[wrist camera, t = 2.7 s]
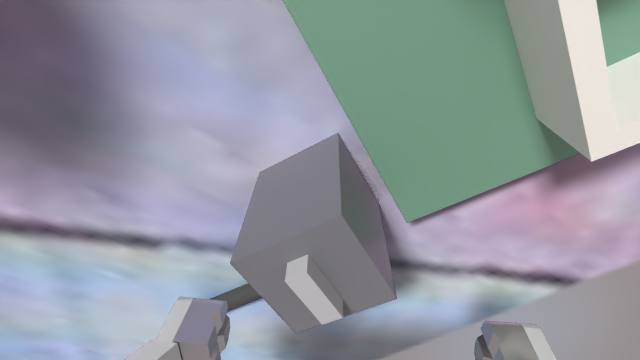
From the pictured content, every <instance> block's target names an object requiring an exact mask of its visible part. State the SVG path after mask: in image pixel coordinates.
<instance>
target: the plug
mask: <svg viewBox="0 0 640 360" xmlns="http://www.w3.org/2000/svg"><path fill="white" fill-rule="evenodd" d="M230 264H231V265H232V266H233V267H234V268H235V269H236V270H237V271H238V272H239V273H240V274H241V276H242V277H243V278H244V279H245V280H246V281H247V282H248V283H249V284H250V285H251V286H252V287H253V288H254V289H255V290H256V292H257V293H258V294H259V295H260V296H261V297H262V298H263V299H264V300H265V301H266V302H267V303H268V304H269V305H270V306H271V308H272V309H273V310H274V311H275V312H276V313H277V314H278V315H279V316H280V317H281V318H282V319H283V320H284V321H285V322H286V324H287V325H288V326H289V327H290V328H291V329H292V330H293V331H294V332H295V333H299V332H301V331H304V330H307V329H310V328H313V327H316V326H319V325H324V324H327V323H330V322H332V321H335V320H338V319H341V318H343V317H345V316H348V315H351V314H354V313H357V312H360V311H363V310H366V309H369V308H371V307H374V306H377V305H380V304H383V303H386V302H389V301H392V300H395V299H397V296H396V291H395V286H394V280H393V275H392V270H391V265H390V260H389V255H388V250H387V244H386V239H385V234H384V229H383V224H382V219H381V214H380V208H379V203H378V200H377V199H376V197H375V195H374V193H373V192H372V190H371V188H370V187H369V185H368V183H367V182H366V180H365V178H364V176H363V175H362V173H361V171H360V170H359V168H358V166H357V164H356V163H355V161H354V159H353V158H352V156H351V154H350V152H349V151H348V149H347V147H346V146H345V144H344V142H343V141H342V139H341V137H340V135H339V134H338V133H337V134H335V135H333V136H331V137H329V138H327V139H325V140H323V141H321V142H319V143H317V144H315V145H313V146H311V147H309V148H307V149H305V150H303V151H301V152H299V153H297V154H295V155H293V156H291V157H289V158H287V159H285V160H283V161H281V162H279V163H277V164H275V165H273V166H271V167H269V168H267V169H265V170H263V171H261V172H260V173H259V176H258V179H257V182H256V185H255V188H254V191H253V194H252V197H251V200H250V203H249V206H248V209H247V212H246V215H245V218H244V222H243V225H242V228H241V231H240V234H239V237H238V240H237V243H236V246H235V249H234V252H233V255H232V258H231V261H230Z"/></svg>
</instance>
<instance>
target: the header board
mask: <svg viewBox="0 0 640 360" xmlns="http://www.w3.org/2000/svg"><path fill="white" fill-rule="evenodd" d="M283 2H284V4H285V5H286V7H287V9H288V11H289V12H290V14H291V16H292V18H293V20H294V21H295V23H296V25H297V27H298V29H299V30H300V32H301V34H302V36H303V38H304V39H305V41H306V43H307V45H308V47H309V48H310V50H311V52H312V54H313V56H314V57H315V59H316V61H317V63H318V65H319V66H320V68H321V70H322V72H323V73H324V75H325V77H326V79H327V81H328V82H329V84H330V86H331V88H332V90H333V91H334V93H335V95H336V97H337V99H338V100H339V102H340V104H341V106H342V108H343V109H344V111H345V113H346V115H347V117H348V118H349V120H350V122H351V124H352V126H353V127H354V129H355V131H356V133H357V135H358V136H359V138H360V140H361V142H362V143H363V145H364V147H365V149H366V151H367V152H368V154H369V156H370V158H371V160H372V161H373V163H374V165H375V167H376V169H377V170H378V172H379V174H380V176H381V178H382V179H383V181H384V183H385V185H386V187H387V188H388V190H389V192H390V194H391V196H392V197H393V199H394V201H395V203H396V205H397V206H398V208H399V210H400V212H401V213H402V215H403V217H404V219H405V221H406V222H407V223H408V222H411V221H413V220H416V219H418V218H421V217H423V216H426V215H428V214H430V213H433V212H435V211H438V210H440V209H443V208H445V207H448V206H450V205H453V204H455V203H458V202H460V201H463V200H465V199H468V198H470V197H473V196H475V195H478V194H480V193H483V192H485V191H488V190H490V189H493V188H495V187H498V186H500V185H503V184H505V183H508V182H510V181H513V180H515V179H518V178H520V177H522V176H525V175H527V174H530V173H532V172H535V171H537V170H540V169H542V168H545V167H547V166H550V165H552V164H555V163H557V162H560V161H562V160H565V159H567V158H570V157H572V156H575V155H577V154H580V153H581V154H582V155H584V156H585V157H586V158H587V159H589V160H590V161H591V162H592V161H595V160H597V159H600V158H603V157H605V156H608V155H610V154H613V153H615V152H618V151H620V150H623V149H625V148H628V147H631V146H633V145H636V144H638V143H640V0H283Z"/></svg>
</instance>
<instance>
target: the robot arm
mask: <svg viewBox="0 0 640 360" xmlns="http://www.w3.org/2000/svg"><path fill="white" fill-rule="evenodd" d="M227 310H228V305H227V301H220V300H210V299H201V298H190V297H179V298H178V299H177V300H176V301H175V303H174V305H173V307H172V309H171V311H170V313H169V315H168V317H167V318H166V320H165V322H164V324H163V326H162V328H161V330H160V332H159V334H158V336H157V338H156V339H155V341H149V342H148V343H146V344H145V345H143V346H142V347H141V348H139V349H138V350H137V351H135V352H134V353H133V354H131V355H130V356H129V357H127V358H126V359H125V360H221V356H220V353H221V352H222V351H223V350H224V349H225V348H226V345H227V342H228V338H229V332H230V319H229V317H228V316H227V315H226V313H227ZM481 330H482V333H483V335H481V336H479V337H478V338H477V340H476V343H475V360H557V359H556V357H555V355H554V353H553V351H552V350H551V348H550V346H549V344H548V342H547V340H546V339H545V337H544V335H543V333H542V331H541V329H540V328H539V327H538V326H537V325H534V324H521V323H519V324H518V323H511V322H495V321H485V322H484V323H483V325H482V327H481Z"/></svg>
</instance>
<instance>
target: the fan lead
mask: <svg viewBox="0 0 640 360" xmlns="http://www.w3.org/2000/svg"><path fill="white" fill-rule="evenodd" d="M259 298H262V297H261V296H260V295H259V294H258V293H257V292H256V290H255V289H254V288H253V287H252V286H251V285H250V284H249V283H248V284H246V285H243V286H241V287H238V288H236V289H233V290H231V291H229V292H226V293H224V294H221V295H219V296H216V297H214V298H211V299H210V300H220V301H227V305H228V310H231V309H233V308H236V307H238V306H241V305H244V304H246V303H249V302H251V301H254V300H257V299H259ZM228 310H227V311H228Z"/></svg>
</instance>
